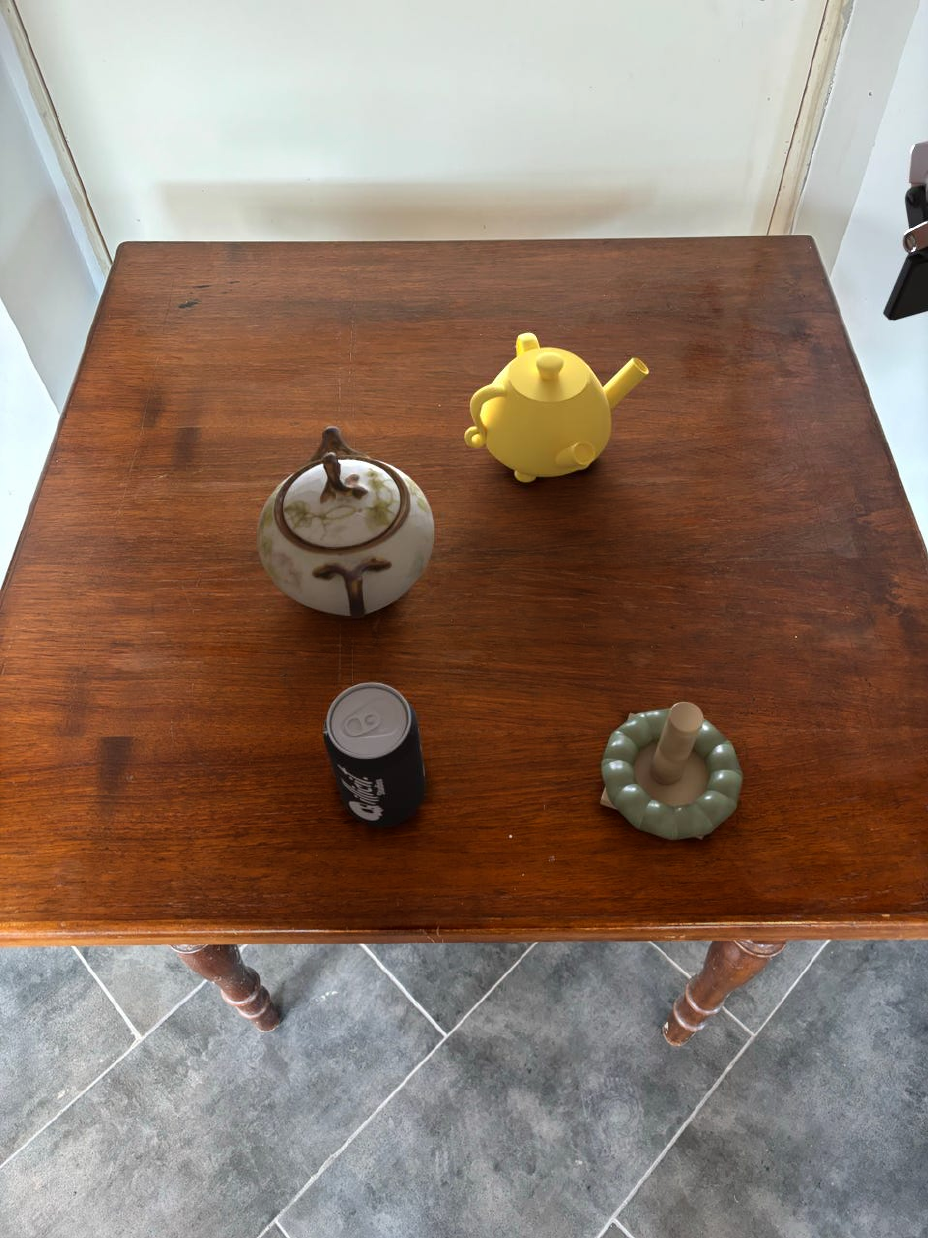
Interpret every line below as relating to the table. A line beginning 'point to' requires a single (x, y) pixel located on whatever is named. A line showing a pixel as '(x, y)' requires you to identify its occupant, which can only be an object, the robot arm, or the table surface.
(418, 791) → the beverage can
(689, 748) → the square base peg stand
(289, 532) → the sugar bowl
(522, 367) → the teapot
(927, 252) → the robot arm
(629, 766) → the ring
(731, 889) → the table surface
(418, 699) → the table surface
